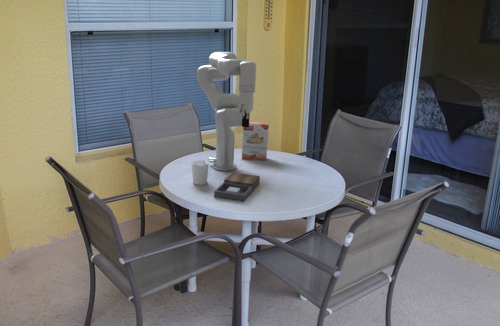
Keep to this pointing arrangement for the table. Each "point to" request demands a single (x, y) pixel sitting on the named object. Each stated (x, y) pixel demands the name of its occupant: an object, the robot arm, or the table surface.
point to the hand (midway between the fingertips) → (245, 126)
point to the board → (243, 179)
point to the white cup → (200, 172)
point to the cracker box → (255, 141)
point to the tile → (233, 190)
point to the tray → (243, 195)
